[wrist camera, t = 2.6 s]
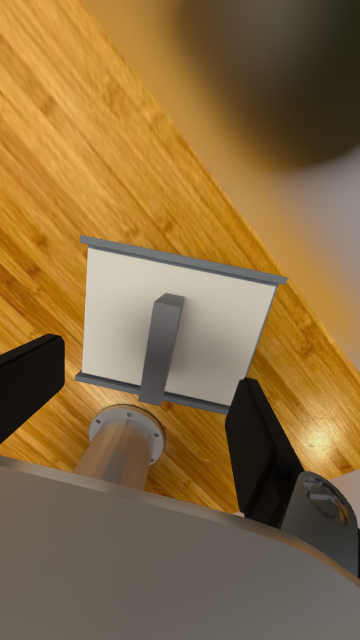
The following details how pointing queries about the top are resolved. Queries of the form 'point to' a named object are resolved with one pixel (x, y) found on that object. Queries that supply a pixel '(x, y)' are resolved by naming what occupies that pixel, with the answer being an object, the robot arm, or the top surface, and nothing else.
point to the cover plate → (200, 327)
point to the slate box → (185, 263)
